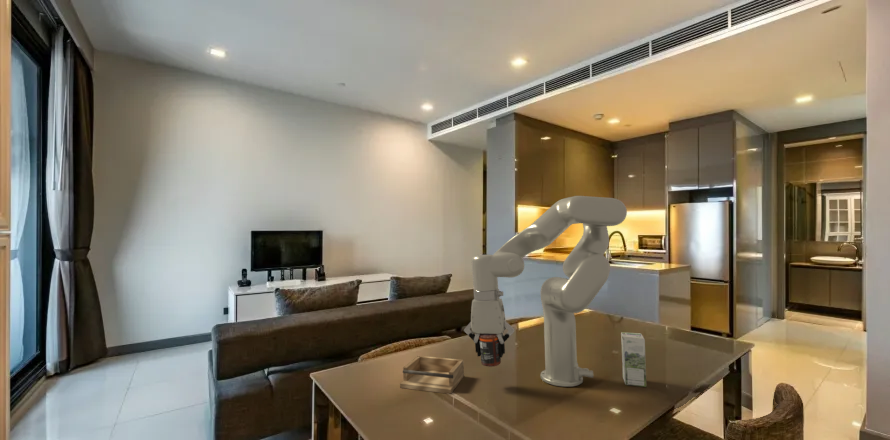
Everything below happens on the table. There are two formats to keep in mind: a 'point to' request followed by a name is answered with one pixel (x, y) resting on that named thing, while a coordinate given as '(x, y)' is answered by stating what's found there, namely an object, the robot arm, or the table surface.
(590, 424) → the table surface
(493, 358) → the supplement bottle
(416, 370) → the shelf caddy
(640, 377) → the syrup box
